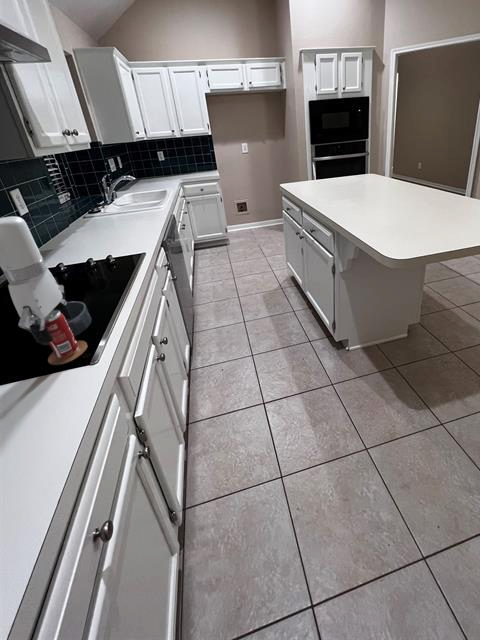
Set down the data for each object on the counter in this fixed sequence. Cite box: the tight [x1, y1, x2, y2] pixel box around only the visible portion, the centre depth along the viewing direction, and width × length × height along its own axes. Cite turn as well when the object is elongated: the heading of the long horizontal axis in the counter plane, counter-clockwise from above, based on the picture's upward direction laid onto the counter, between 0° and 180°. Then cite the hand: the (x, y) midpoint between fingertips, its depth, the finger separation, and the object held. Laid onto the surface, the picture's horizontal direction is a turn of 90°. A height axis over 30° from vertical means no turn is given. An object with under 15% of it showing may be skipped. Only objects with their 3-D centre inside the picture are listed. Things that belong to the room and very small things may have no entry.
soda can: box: [44, 310, 78, 358], centre depth 81 cm, size 5×5×12 cm
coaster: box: [47, 340, 88, 366], centre depth 84 cm, size 9×9×1 cm
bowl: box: [30, 301, 93, 346], centre depth 92 cm, size 14×14×6 cm
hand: (56, 329), depth 80 cm, fingers open, 8 cm apart
